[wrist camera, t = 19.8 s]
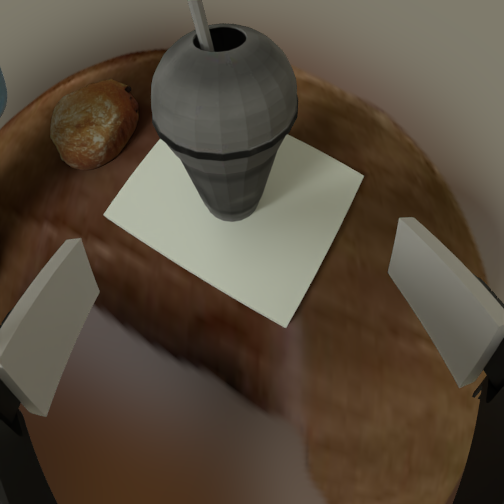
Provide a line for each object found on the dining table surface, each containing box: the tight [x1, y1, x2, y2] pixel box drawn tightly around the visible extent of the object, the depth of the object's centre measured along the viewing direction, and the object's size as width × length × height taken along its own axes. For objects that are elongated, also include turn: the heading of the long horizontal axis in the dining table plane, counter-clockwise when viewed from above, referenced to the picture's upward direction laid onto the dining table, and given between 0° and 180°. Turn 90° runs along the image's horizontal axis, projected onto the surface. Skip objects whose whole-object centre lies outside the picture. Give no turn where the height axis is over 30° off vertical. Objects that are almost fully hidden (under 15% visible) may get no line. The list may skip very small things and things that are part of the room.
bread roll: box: [50, 79, 139, 170], centre depth 25 cm, size 10×10×8 cm
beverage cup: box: [151, 0, 298, 222], centre depth 15 cm, size 7×7×20 cm
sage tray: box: [104, 134, 364, 328], centre depth 25 cm, size 18×15×1 cm
